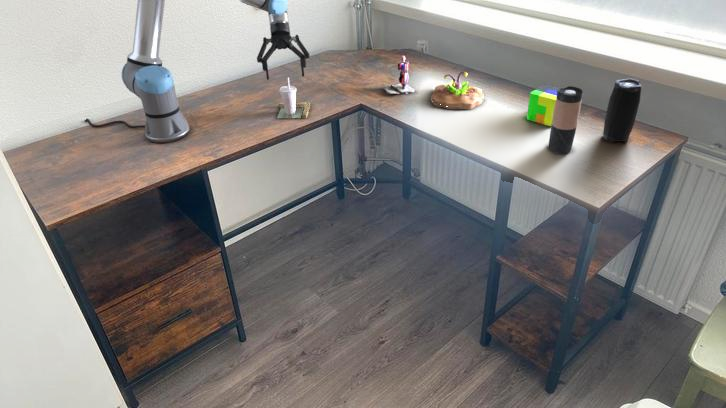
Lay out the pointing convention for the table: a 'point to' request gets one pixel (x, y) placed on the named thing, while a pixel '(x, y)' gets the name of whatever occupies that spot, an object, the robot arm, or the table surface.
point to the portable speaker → (622, 110)
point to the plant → (457, 94)
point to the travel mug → (565, 119)
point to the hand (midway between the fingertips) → (285, 76)
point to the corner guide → (298, 112)
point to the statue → (401, 80)
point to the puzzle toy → (542, 104)
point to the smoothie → (289, 98)
